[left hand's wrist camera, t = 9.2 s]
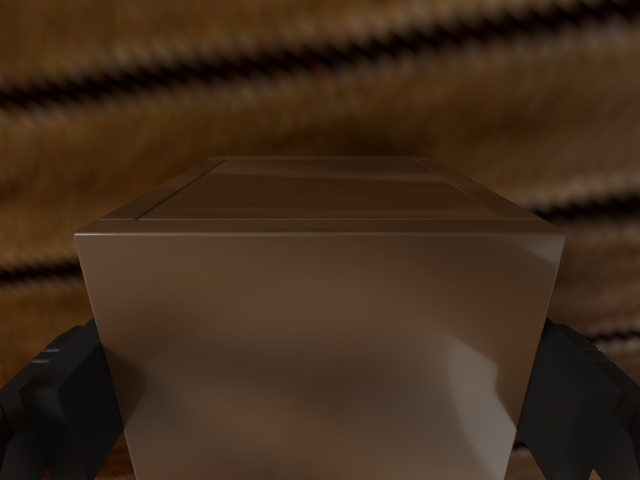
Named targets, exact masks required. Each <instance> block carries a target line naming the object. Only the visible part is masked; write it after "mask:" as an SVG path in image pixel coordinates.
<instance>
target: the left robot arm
mask: <svg viewBox="0 0 640 480" xmlns="http://www.w3.org/2000/svg"><path fill="white" fill-rule="evenodd" d="M597 349H598V348H597V347H595V346H594V345H593V344H592V343H591V342H590V341H589V340H588V339H587V338H586V337H585V336H583V335H582V334H580V333H578V332H576V331H575V330H573V329H571V328H569V327H568V326H566V325H561V324H554V323H553V322H552V321H551V320H550V319H548V318H547V317H546V320H545V324H544V328H543V332H542V336H541V340H540V344H539V348H538V351H537V355H536V359H535V363H534V367H533V371H532V375H531V379H530V383H529V386H528V390H527V394H526V398H525V402H524V406H523V410H522V414H521V418H520V421H519V425H518V429H517V430H518V432H519V434H520V435H521V437H522V439H523V441H524V442H525V444H526V446H527V447H528V449H529V451H530V453H531V454H532V456H533V458H534V459H535V461H536V463H537V464H538V466H539V468H540V470H541V471H542V473H543V475H544V476H545V478H546V480H589V477H590V474H591V472H592V469H593V468H594V470H595V471H596V473H597V474H598V475H599V477H600V478H601V479H602V480H640V387H639V386H638V385H637V384H636V383H635V382H634V381H633V380H631V379H630V378H629V377H628V376H627V375H626V374H625V373H624V372H623V371H622V370H621V369H619V368H618V367H617V366H616V365H615V364H614V363H613V362H610V361H609V358H607V357H606V356H605V355H604V354H603V353H602V352H601V351H598V350H597ZM122 431H123V426H122V422H121V418H120V414H119V410H118V407H117V403H116V399H115V395H114V391H113V387H112V383H111V380H110V376H109V372H108V368H107V364H106V360H105V357H104V353H103V349H102V345H101V341H100V337H99V333H98V330H97V326H96V322H95V318H94V317H93V318H92V319H91V320H90V321H89V322H88V323H87V324H86V325H85V326H75V327H73V328H72V329H70V330H68V331H66V332H65V333H63V334H61V335H60V336H58V337H57V338H56V339H54V340H53V341H52V342H51V343H50V344H49V345H48V346H47V347H46V348H45V349H44V351H43V352H40V353H39V354H38V355H37V356H36V357H35V358H34V359H33V360H32V362H31V363H28V364H27V365H26V366H25V367H24V368H23V369H22V370H21V371H20V372H19V373H18V374H16V375H15V376H14V377H13V378H12V379H11V380H10V381H9V382H8V383H7V384H6V385H5V386H3V387H2V388H1V389H0V480H40V479H41V478H42V477H43V475H44V474H45V472H46V471H47V470H49V473H50V476H51V478H52V480H94V479H95V477H96V475H97V474H98V472H99V470H100V469H101V467H102V465H103V463H104V462H105V460H106V458H107V457H108V455H109V453H110V452H111V450H112V448H113V446H114V445H115V443H116V441H117V440H118V438H119V436H120V434H121V433H122Z"/></svg>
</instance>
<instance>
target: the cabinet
mask: <svg viewBox="0 0 640 480" xmlns="http://www.w3.org/2000/svg"><path fill="white" fill-rule="evenodd" d="M73 237H74V241H75V245H76V249H77V253H78V256H79V260H80V264H81V268H82V272H83V276H84V280H85V283H86V287H87V291H88V295H89V299H90V303H91V306H92V310H93V314H94V318H95V322H96V326H97V330H98V333H99V337H100V341H101V345H102V349H103V353H104V357H105V360H106V364H107V368H108V372H109V376H110V380H111V383H112V387H113V391H114V395H115V399H116V403H117V407H118V410H119V414H120V418H121V422H122V426H123V430H124V434H125V437H126V441H127V445H128V449H129V453H130V457H131V460H132V464H133V468H134V472H135V476H136V480H505V476H506V472H507V468H508V464H509V460H510V456H511V452H512V449H513V445H514V441H515V437H516V433H517V429H518V425H519V421H520V418H521V414H522V410H523V406H524V402H525V398H526V394H527V390H528V386H529V383H530V379H531V375H532V371H533V367H534V363H535V359H536V355H537V351H538V348H539V344H540V340H541V336H542V332H543V328H544V324H545V320H546V317H547V313H548V309H549V305H550V301H551V297H552V293H553V289H554V285H555V282H556V278H557V274H558V270H559V266H560V262H561V258H562V254H563V251H564V247H565V243H566V239H567V233H566V232H565V231H563V230H562V229H560V228H558V227H556V226H554V225H552V224H551V223H549V222H547V221H545V220H542V218H540V217H538V216H536V215H535V214H533V213H531V212H529V211H527V210H525V209H524V208H522V207H520V206H518V205H516V204H514V203H513V202H511V201H509V200H507V199H505V198H503V197H502V196H500V195H498V194H496V193H494V192H492V191H491V190H489V189H487V188H485V187H483V186H482V185H480V184H478V183H476V182H474V181H472V180H471V179H469V178H467V177H465V176H463V175H461V174H460V173H458V172H456V171H454V170H452V169H450V168H449V167H447V166H445V165H443V164H441V163H439V162H438V161H436V160H434V159H432V158H431V157H429V156H427V155H410V156H212V157H210V158H209V159H208V160H206V161H204V162H202V163H200V164H198V165H197V166H195V167H193V168H191V169H189V170H187V171H186V172H184V173H182V174H180V175H178V176H177V177H175V178H173V179H171V180H169V181H167V182H166V183H164V184H162V185H160V186H158V187H156V188H155V189H153V190H151V191H149V192H147V193H146V194H144V195H142V196H140V197H138V198H136V199H135V200H133V201H131V202H129V203H127V204H125V205H124V206H122V207H120V208H118V209H116V210H115V211H113V212H111V213H109V214H107V215H105V216H104V217H102V218H100V219H99V220H96V221H94V222H92V223H91V224H89V225H87V226H85V227H83V228H81V229H80V230H78V231H76V232H74V234H73Z"/></svg>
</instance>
